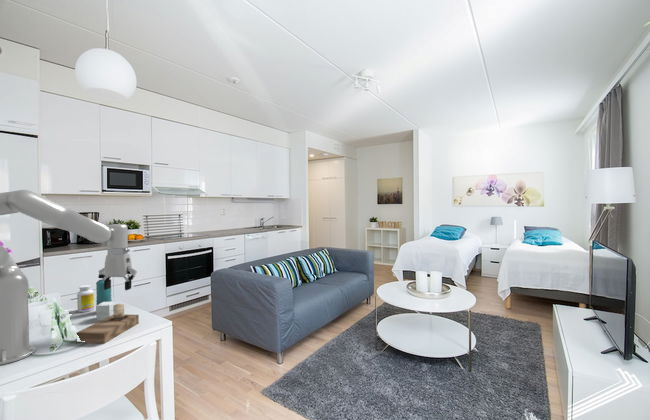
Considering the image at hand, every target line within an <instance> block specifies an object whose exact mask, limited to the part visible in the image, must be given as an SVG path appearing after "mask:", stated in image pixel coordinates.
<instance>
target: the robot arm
mask: <svg viewBox="0 0 650 420" xmlns="http://www.w3.org/2000/svg"><path fill="white" fill-rule="evenodd" d="M17 213H21V214H22V215H25V216H27V217H30V218H33V219H35V220H37V221H40V222H42V223H45V224H47V225H49V226H51V227H54V228H56V229H60V230H64V231H67V232H71V233H73V234H75V235H77V236H80V237H83V238H85V239H86V240H88V241H90V242H93V243H97V244H102V243H106V242H107V243H106V244H107V252H106V253H107V254H106V256H105V259H104V267H103V268H101V269H100V270H98V275H99V274H100V276H101V278H100V279H103V281H104V290H107V289H109V288H111V289H112V280H111V278H123V279H124V280H125V281H124V291H128V290H131V289H132V281H133V280H134V278H135V277H136V275H137V273H138V270H135V269H134V268H133V266H132V258H131V254H130V253H129V252H130V249H128V248H129V246H128V245H129V244H128V243H129V241H128V240H129V239H128V238H129V237H128V236H129V235H128V233H129V232H128V231H129V229H128V225H127V224H124V223H114V224H113V223H112V224H103V223H101V222H98V221H96V220H95V219H92V218H89V217H88V216H86V215H83V214H81V213H78V212H76V211H74V210H72V209H71V208H69V207H67V206H65V205H63V204H60V203H58V202H56V201H54V200H52V199H50V198H47V197H45V196H43V195H40V194H38V193H36V192H34V191H33V190H29V189H19V190H12V191H5V192H0V216H4V215H11V214H12V215H13V214H17ZM104 273H105V274H104ZM29 288H30V286H29V280H28V278H27V276H26V275H25V273H24V272H23V271H22V270H21V268H20V266H18V265H17V263H16V262H15V260H14V259H13V257H12V256H11V255H10V253H9V251H8V249H6V248H5V247H4V246H3V245H2V244H0V366H1V365H5V364H11V363H13V362H14V363H15V362H19V361H20V360H23V359H25V358H28V357H30V356H31V355H30V353H31V352H33V351H36V346H35V345H30V323H29V316H30V315H29V290H30V289H29Z"/></svg>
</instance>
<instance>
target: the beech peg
mask: <svg viewBox="0 0 650 420" xmlns="http://www.w3.org/2000/svg"><path fill="white" fill-rule="evenodd" d="M113 314H114V317H113V319H114V321H121V320H123V319H124V316H125V315H124V314H125V304H124V303H116V305H114V306H113Z"/></svg>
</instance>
